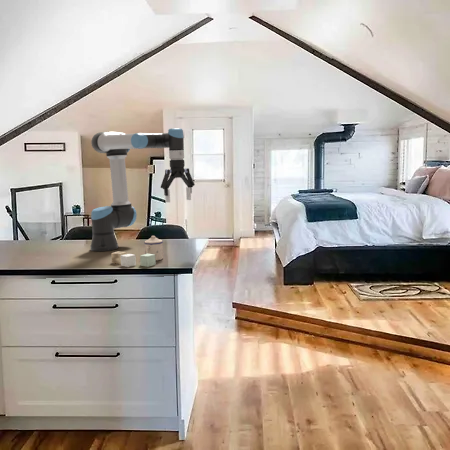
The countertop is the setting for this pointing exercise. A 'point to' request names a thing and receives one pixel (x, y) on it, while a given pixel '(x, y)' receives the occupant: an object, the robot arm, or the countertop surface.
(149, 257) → the sage painted cube
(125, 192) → the robot arm
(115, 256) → the maple cube
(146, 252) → the teacup with lid
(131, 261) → the white painted cube
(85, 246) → the countertop surface
